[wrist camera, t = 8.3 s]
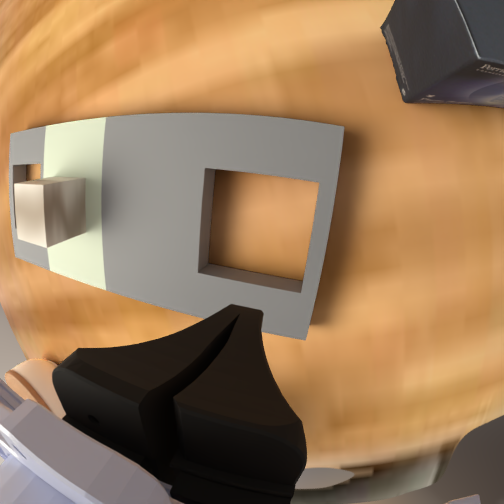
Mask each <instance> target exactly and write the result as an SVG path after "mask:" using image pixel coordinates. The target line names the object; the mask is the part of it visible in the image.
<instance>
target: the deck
mask: <svg viewBox="0 0 504 504" xmlns="http://www.w3.org/2000/svg"><path fill="white" fill-rule="evenodd" d="M343 135H344V127H343V126H338V125H332V124H326V123H319V122H312V121H305V120H297V119H289V118H280V117H270V116H258V115H244V114H224V113H157V114H137V115H124V116H112V117H103V118H94V119H86V120H79V121H72V122H66V123H60V124H54V125H48V126H43V127H38V128H33V129H29V130H24V131H20V132H16V133H12V134H11V136H10V153H9V198H10V215H11V226H12V236H13V244H14V251H15V257H17V258H20V259H22V260H24V261H27V262H29V263H32V264H34V265H37V266H40V267H42V268H45V269H47V270H50V271H53V272H55V273H58V274H61V275H63V276H66V277H69V278H72V279H74V280H77V281H80V282H83V283H86V284H89V285H92V286H95V287H98V288H101V289H104V290H107V291H110V292H113V293H116V294H119V295H122V296H125V297H129V298H132V299H135V300H139V301H142V302H145V303H149V304H152V305H156V306H159V307H163V308H166V309H170V310H173V311H177V312H181V313H185V314H188V315H192V316H196V317H200V318H204V319H206V318H208V317H209V316H211V315H213V314H215V313H216V312H218V311H220V310H221V309H223V308H225V307H226V306H228V305H230V304H235V305H240V306H244V307H249V308H254V309H259V310H262V311H263V313H264V316H263V322H262V329H261V332H265V333H270V334H275V335H280V336H285V337H290V338H295V339H301V340H306V337H307V333H308V329H309V325H310V321H311V316H312V312H313V308H314V304H315V299H316V295H317V290H318V286H319V281H320V276H321V271H322V267H323V262H324V257H325V251H326V246H327V241H328V235H329V230H330V224H331V219H332V213H333V207H334V201H335V194H336V188H337V181H338V174H339V167H340V160H341V152H342V144H343ZM26 164H41V179H42V178H48V177H79V178H86V180H85V209H86V233H84V234H81V235H79V236H76V237H73V238H71V239H68V240H66V241H63V242H61V243H58V244H56V245H53V246H51V247H48V248H45V247H42V246H39V245H36V244H32V243H29V242H26V241H23V240H20V239H18V235H17V225H16V213H15V194H14V184H15V183H20V182H25V181H26ZM216 169H221V170H231V171H240V172H249V173H257V174H265V175H272V176H279V177H287V178H293V179H300V180H306V181H312V182H319V189H318V196H317V203H316V209H315V215H314V222H313V228H312V234H311V240H310V245H309V251H308V257H307V262H306V268H305V273H304V278H303V281H299V280H293V279H288V278H282V277H277V276H272V275H266V274H261V273H256V272H251V271H245V270H240V269H235V268H230V267H225V266H220V265H215V264H209V263H208V259H209V244H210V230H211V216H212V204H213V192H214V181H215V170H216Z"/></svg>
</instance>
